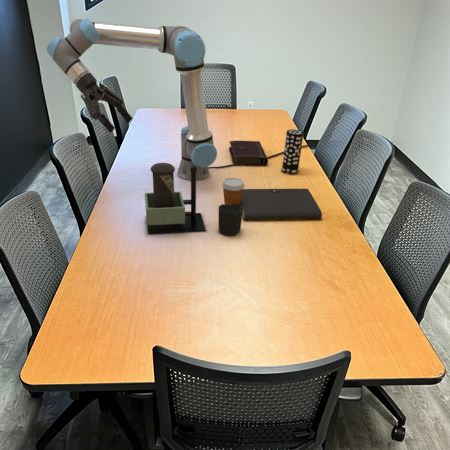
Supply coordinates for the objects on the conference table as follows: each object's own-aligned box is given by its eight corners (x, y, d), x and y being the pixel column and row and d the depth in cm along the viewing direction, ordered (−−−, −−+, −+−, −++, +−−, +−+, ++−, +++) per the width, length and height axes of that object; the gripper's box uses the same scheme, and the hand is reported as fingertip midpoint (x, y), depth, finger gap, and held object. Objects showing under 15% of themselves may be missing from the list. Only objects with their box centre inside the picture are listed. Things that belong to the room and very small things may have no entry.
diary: (260, 149, 259) (260, 140, 256) (267, 166, 240) (268, 156, 237) (227, 149, 257) (227, 140, 254) (232, 166, 238) (233, 156, 235)
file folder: (307, 187, 210) (322, 212, 191) (306, 195, 213) (320, 221, 194) (237, 188, 206) (244, 213, 188) (236, 196, 209) (244, 222, 190)
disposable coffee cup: (245, 205, 202) (247, 179, 195) (238, 214, 195) (240, 188, 187) (225, 201, 204) (226, 175, 197) (217, 210, 197) (218, 184, 190)
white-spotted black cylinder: (279, 172, 233) (284, 133, 221) (284, 167, 239) (289, 128, 227) (295, 175, 231) (301, 135, 219) (299, 170, 237) (305, 131, 225)
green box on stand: (200, 214, 193) (201, 158, 178) (205, 231, 182) (206, 172, 167) (146, 217, 189) (142, 159, 175) (148, 234, 178) (143, 174, 163)
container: (172, 220, 178) (170, 171, 166) (150, 217, 179) (147, 168, 167) (178, 210, 185) (177, 162, 173) (157, 207, 186) (154, 159, 174)
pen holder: (233, 239, 178) (234, 216, 172) (213, 232, 182) (213, 209, 176) (245, 229, 184) (247, 207, 178) (225, 223, 188) (226, 200, 182)
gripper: (95, 78, 183) (131, 122, 188) (57, 92, 164) (99, 141, 169) (105, 65, 178) (142, 111, 184) (67, 78, 159) (110, 128, 165)
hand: (121, 125), depth 177 cm, fingers open, 13 cm apart
